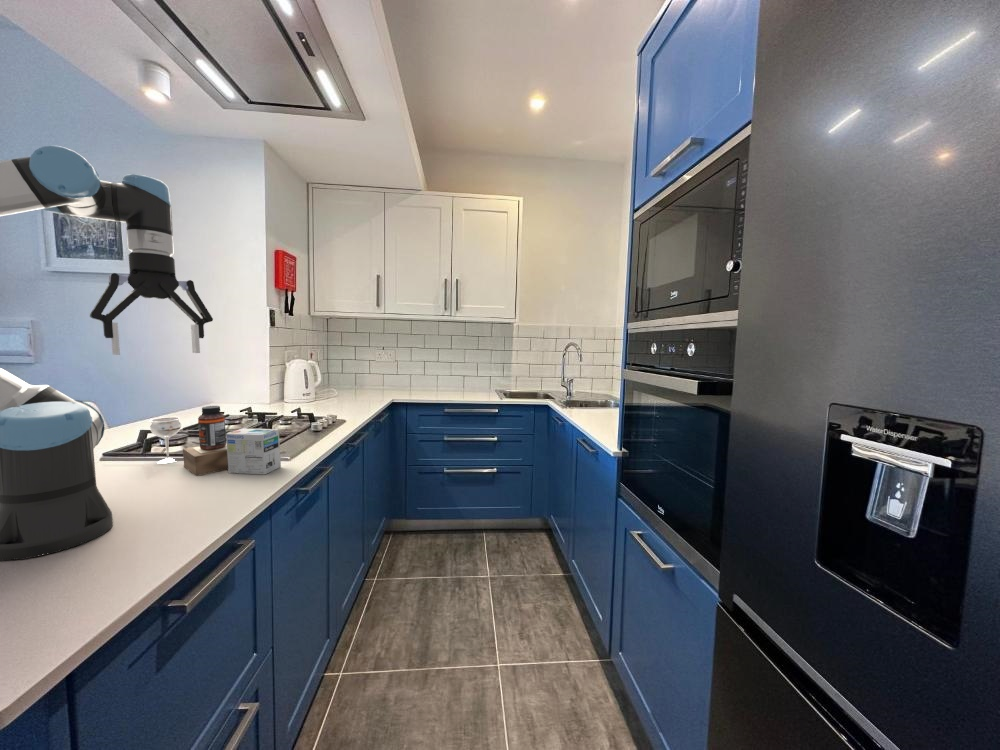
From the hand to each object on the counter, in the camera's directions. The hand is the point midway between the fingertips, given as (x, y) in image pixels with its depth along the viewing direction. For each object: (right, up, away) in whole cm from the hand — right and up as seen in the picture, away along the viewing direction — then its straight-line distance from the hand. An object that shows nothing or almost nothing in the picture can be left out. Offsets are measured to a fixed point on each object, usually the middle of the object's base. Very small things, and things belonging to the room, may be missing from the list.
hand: (158, 353), depth 89 cm
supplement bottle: (-4, -25, +22) cm, 33 cm away
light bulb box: (+9, -30, +20) cm, 37 cm away
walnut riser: (-4, -30, +22) cm, 37 cm away
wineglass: (-20, -29, +27) cm, 44 cm away
